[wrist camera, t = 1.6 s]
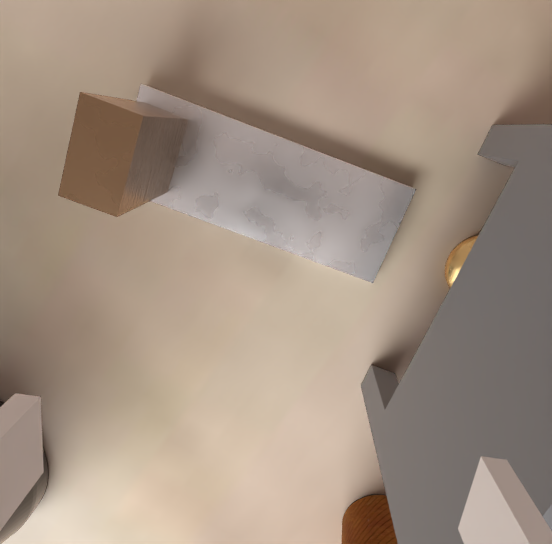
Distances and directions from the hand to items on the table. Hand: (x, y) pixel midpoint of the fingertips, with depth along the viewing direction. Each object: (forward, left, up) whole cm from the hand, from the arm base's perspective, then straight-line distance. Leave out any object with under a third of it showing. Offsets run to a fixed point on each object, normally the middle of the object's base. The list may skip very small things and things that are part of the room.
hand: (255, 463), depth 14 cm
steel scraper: (-3, +5, -21) cm, 22 cm away
